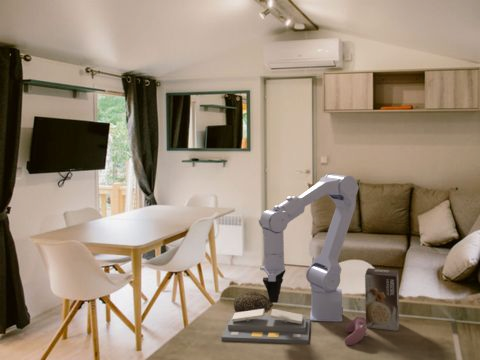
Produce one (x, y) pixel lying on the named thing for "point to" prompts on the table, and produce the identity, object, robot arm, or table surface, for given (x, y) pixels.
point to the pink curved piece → (356, 330)
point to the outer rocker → (248, 315)
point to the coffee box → (382, 299)
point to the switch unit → (267, 330)
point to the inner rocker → (286, 316)
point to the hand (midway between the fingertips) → (274, 298)
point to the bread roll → (251, 302)
